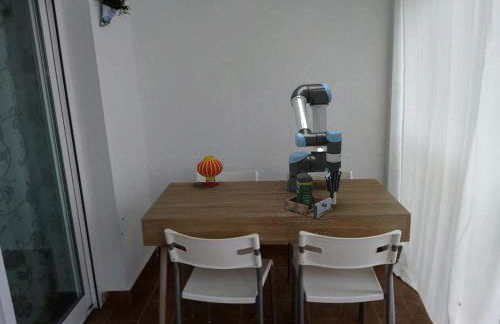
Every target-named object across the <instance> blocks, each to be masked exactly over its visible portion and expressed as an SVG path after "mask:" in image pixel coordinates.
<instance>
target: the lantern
mask: <svg viewBox="0 0 500 324" xmlns="http://www.w3.org/2000/svg"><path fill="white" fill-rule="evenodd" d="M207 148H208V151H210V150H209V146H207ZM223 169H224V167H223V164H222V162H221V161H220V160H219V159H218V158H215V155H213V154H211V155H210V154H208V155H204V156H203V159H201V160H200V161H199V162H198V163H197V165H196V170H197V173H198V174H199V175H200V176H201V177H204V178H205V185H206V187H208V186H209V187H215V186H216V185H217V184H216V177H217V176H218V175H220V174H221V173H222V171H223Z"/></svg>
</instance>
